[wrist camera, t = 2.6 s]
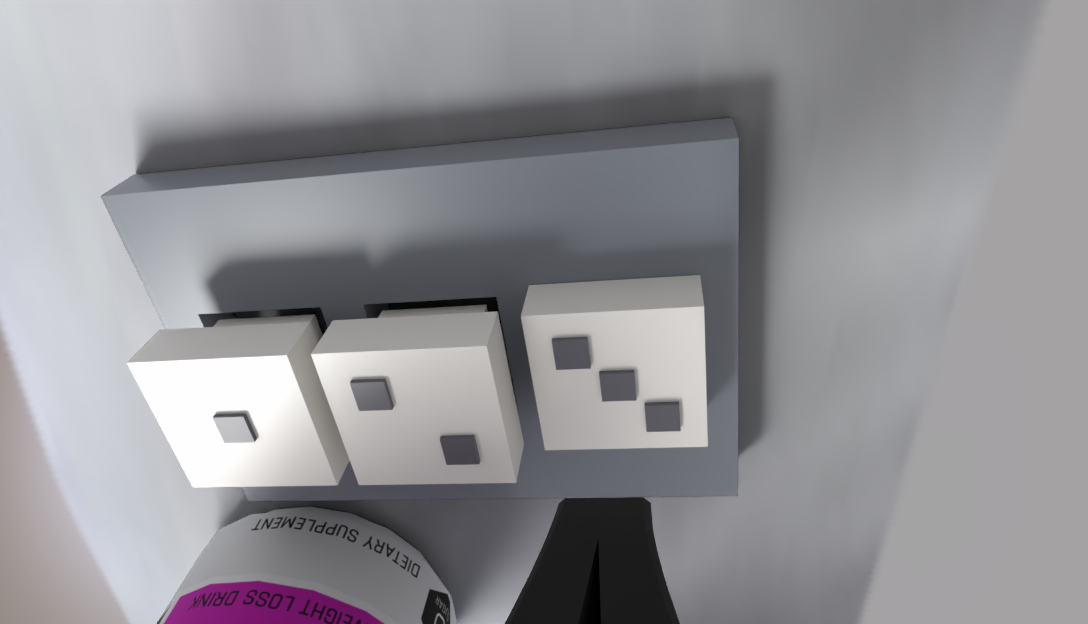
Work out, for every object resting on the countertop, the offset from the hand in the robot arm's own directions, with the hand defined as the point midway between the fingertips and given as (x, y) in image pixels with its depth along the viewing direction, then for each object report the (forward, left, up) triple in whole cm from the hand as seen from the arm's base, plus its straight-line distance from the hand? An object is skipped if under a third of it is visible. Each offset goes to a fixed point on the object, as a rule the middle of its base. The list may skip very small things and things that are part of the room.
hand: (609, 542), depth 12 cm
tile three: (0, 0, -6) cm, 6 cm away
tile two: (0, +4, -6) cm, 8 cm away
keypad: (0, +4, -6) cm, 8 cm away
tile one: (0, +8, -6) cm, 10 cm away
